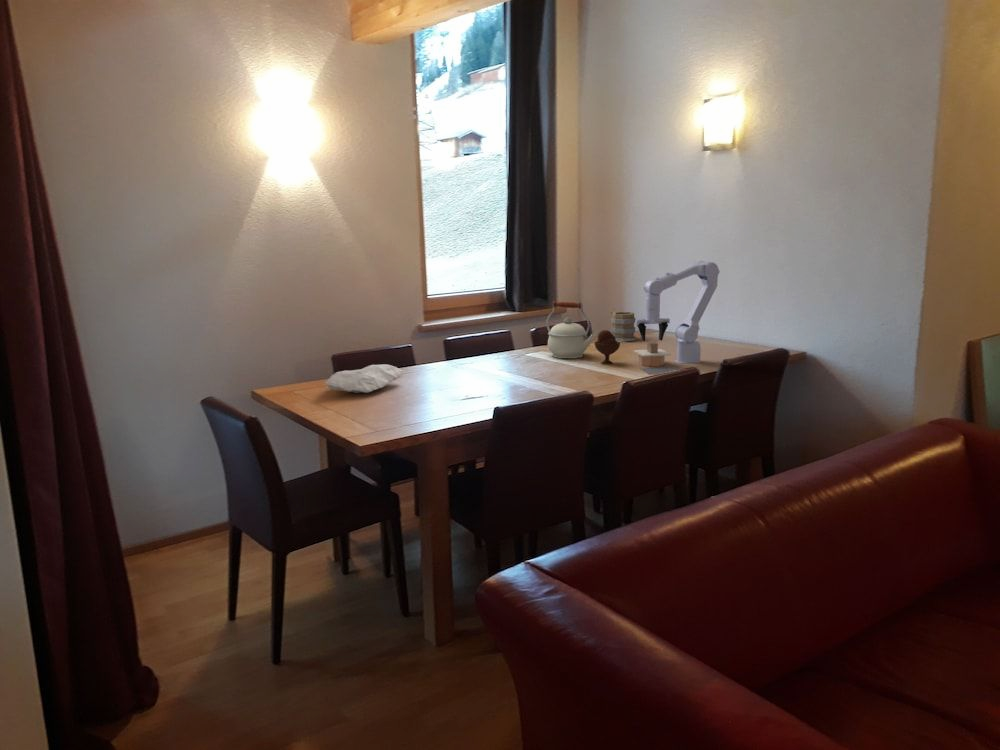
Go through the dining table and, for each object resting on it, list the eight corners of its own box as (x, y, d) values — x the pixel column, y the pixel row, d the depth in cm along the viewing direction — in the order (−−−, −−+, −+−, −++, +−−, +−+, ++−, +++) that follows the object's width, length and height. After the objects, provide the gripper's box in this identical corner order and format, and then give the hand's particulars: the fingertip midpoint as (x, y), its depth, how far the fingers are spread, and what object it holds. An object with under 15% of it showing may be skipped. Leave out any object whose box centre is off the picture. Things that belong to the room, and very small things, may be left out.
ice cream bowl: (619, 366, 321) (619, 331, 318) (593, 366, 323) (593, 331, 320) (620, 361, 331) (621, 328, 328) (595, 361, 333) (595, 327, 330)
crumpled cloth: (304, 390, 285) (305, 367, 282) (378, 373, 310) (378, 352, 307) (342, 409, 270) (343, 385, 267) (416, 390, 295) (417, 368, 292)
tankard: (639, 341, 380) (640, 311, 377) (616, 343, 377) (617, 313, 374) (622, 335, 399) (623, 307, 396) (600, 336, 396) (600, 308, 393)
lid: (660, 350, 329) (660, 339, 328) (670, 355, 318) (671, 344, 317) (634, 351, 328) (634, 341, 327) (643, 356, 316) (643, 345, 315)
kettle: (537, 357, 345) (536, 302, 340) (556, 350, 360) (556, 298, 355) (585, 362, 332) (586, 305, 326) (604, 355, 347) (604, 301, 341)
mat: (676, 367, 317) (676, 366, 317) (687, 373, 306) (687, 372, 306) (639, 369, 315) (639, 368, 315) (649, 375, 304) (649, 374, 303)
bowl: (658, 361, 330) (658, 350, 328) (666, 366, 320) (667, 354, 319) (636, 362, 328) (636, 351, 327) (644, 367, 318) (644, 355, 317)
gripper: (639, 310, 314) (638, 342, 317) (672, 309, 317) (671, 341, 319) (634, 308, 321) (633, 340, 324) (666, 307, 323) (665, 338, 326)
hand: (652, 340), depth 322 cm, fingers open, 7 cm apart
